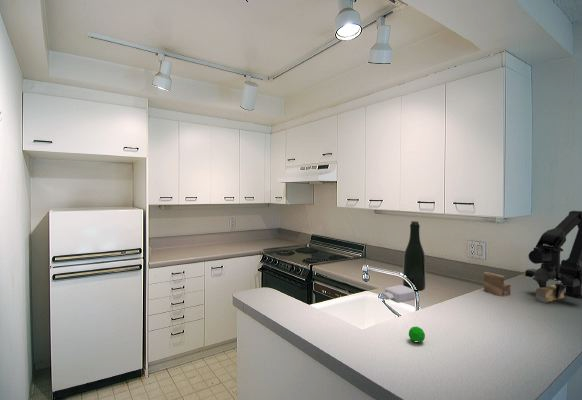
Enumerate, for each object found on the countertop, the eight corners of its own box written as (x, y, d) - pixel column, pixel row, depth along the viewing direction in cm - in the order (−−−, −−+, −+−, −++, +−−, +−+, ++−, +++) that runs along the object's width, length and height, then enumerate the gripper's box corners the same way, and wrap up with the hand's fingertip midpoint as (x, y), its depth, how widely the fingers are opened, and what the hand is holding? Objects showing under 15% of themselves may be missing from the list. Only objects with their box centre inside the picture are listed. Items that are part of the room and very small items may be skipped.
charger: (374, 299, 147) (399, 294, 153) (388, 306, 139) (414, 300, 145) (374, 288, 147) (400, 284, 153) (388, 295, 138) (415, 290, 144)
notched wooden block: (491, 288, 159) (491, 270, 158) (510, 294, 151) (510, 275, 150) (482, 290, 156) (483, 272, 156) (501, 296, 148) (501, 277, 148)
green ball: (405, 339, 109) (405, 325, 109) (416, 336, 111) (416, 323, 110) (416, 346, 104) (416, 332, 104) (428, 343, 106) (428, 329, 106)
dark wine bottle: (415, 283, 167) (416, 219, 165) (430, 290, 157) (431, 222, 155) (398, 286, 164) (399, 220, 162) (412, 292, 154) (412, 223, 152)
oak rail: (554, 295, 149) (555, 284, 149) (563, 297, 146) (564, 286, 145) (535, 300, 143) (536, 288, 143) (544, 302, 140) (544, 291, 140)
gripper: (517, 259, 149) (516, 292, 150) (565, 268, 132) (564, 306, 133) (532, 256, 153) (531, 289, 154) (581, 265, 136) (579, 302, 137)
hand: (550, 296), depth 145 cm, fingers open, 5 cm apart
